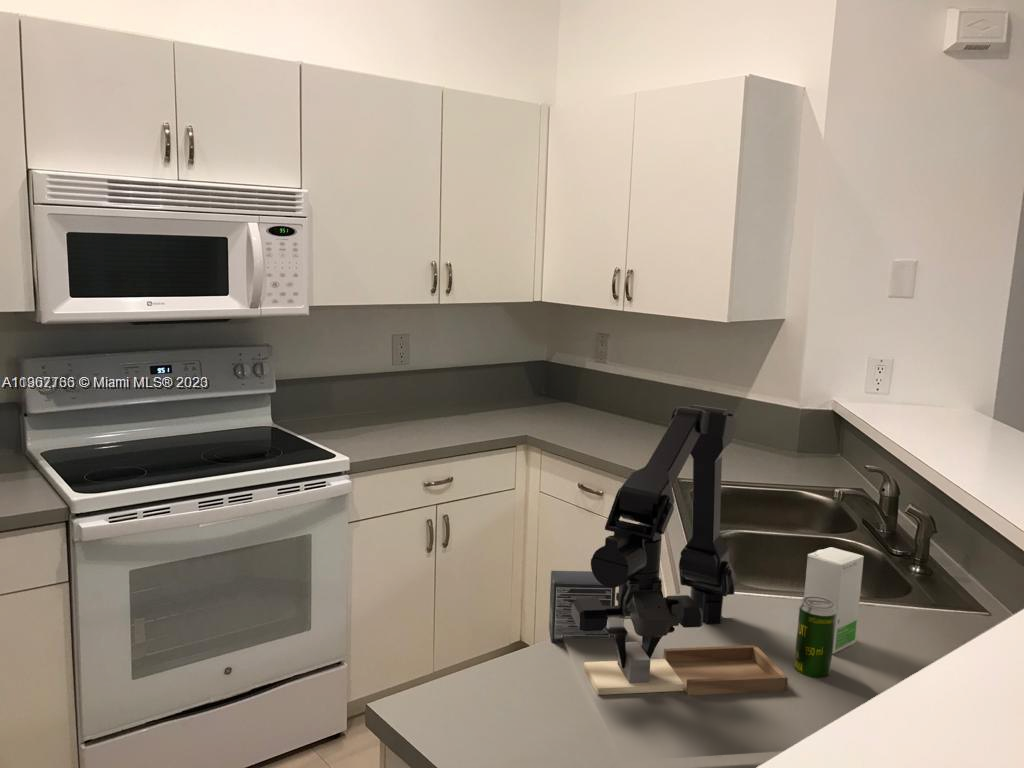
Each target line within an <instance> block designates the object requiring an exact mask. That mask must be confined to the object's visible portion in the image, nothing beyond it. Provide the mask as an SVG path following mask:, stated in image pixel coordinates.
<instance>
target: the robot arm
mask: <svg viewBox="0 0 1024 768" xmlns="http://www.w3.org/2000/svg"><path fill="white" fill-rule="evenodd" d="M670 419H671V421H670V423H669V425H668V427H667V428H666V430H665V432H664V434H663V435H662V437H661V439H660V441H659V442H658V444H657V445H656V448H655V449H654V451H653V452H652V454H651V456H650V458H649V459H648V461H647V463H646V465H644V466H643V467H641V468H639V469H637V470H634V471H633V472H632V473H630V474H629V476H628V477H627V478H626V480H625V481H624V483H622V484H621V486H620V487H619V489H618V490H617V493H616V495H615V497H614V500H613V503H612V506H611V509H610V512H609V515H608V518H607V520H606V523H605V526H604V530H605V531H608V532H612V533H613V535H612V534H611V535H608V536H606V537H605V540H604V545H602V546H600V547H599V548H598V549H596V550H595V551H594V553H593V555H592V558H591V559H590V569H591V571H592V573H593V575H594V576H595V578H596V579H597V580H598V581H599V582H600V583H601V584H602V585H604V586H606V587H610V588H615V587H616V588H618V592H615V601H617V605H615V606H603V605H602V603H601V602H600V600H599V599H598V598H576V599H575V601H574V602H573V603H572V607H571V616H572V618H573V619H574V621H575V623H576V625H577V626H578V628H579V630H582V631H602V630H603V629H604V630H605V631H606V633H607V634H610V635H611V637H612V642H613V646H614V648H615V652H616V655H617V661H618V660H619V663H620V666H621V667H622V668H625V662H626V643H625V642H626V638H627V635H628V633H629V632H628V630H627V629H626V627H625V626H624V624H625V623H624V622H625V620H630V621H631V623H632V625H633V628H634V629H633V630H634V632H635V634H636V635H637V636H639V637H642V638H641V647H642V649H643V650H644V651H645V653H646V654H647V656H648V657H649V658H650V659H651V658H652V656H653V654H654V651H655V649H656V647H657V646H658V644H659V642H660V641H661V639H662V638H663V637H665V636H667V635H668V634H671V633H674V632H675V627H679V625H681V626H682V627H683V628H684V629H685V628H689V629H690V628H701V627H703V624H705V625H721V623H722V619H724V616H722V614H723V603H724V597H725V598H726V597H727V596H730V595H731V596H732V595H734V594H735V590H736V586H737V582H736V581H737V575H736V573H735V570H734V568H733V565H732V563H731V562H730V549H729V547H728V546H727V544H726V542H725V541H724V539H723V537H722V536H721V508H722V507H721V505H722V503H721V501H722V500H721V499H722V473H723V472H722V465H723V462H722V461H723V455H724V454H725V453H726V451H727V450H728V449H729V447H730V446H731V445H732V443H733V437H734V436H735V432H736V428H737V421H736V420H737V419H736V418H735V416H734V413H731V411H730V409H726V408H721V407H713V406H707V405H700V404H699V405H697V404H693V405H691V406H690V407H688V406H687V407H686V406H680V407H675V408H674V410H673V412H672V414H671V418H670ZM689 457H692V500H691V501H692V503H691V505H692V506H691V507H692V510H691V511H692V512H691V516H692V517H691V537H690V539H689V541H688V542H687V543H686V544H685V546H684V547H683V549H682V550H681V551H680V558H679V562H678V563H679V564H678V571H679V581H680V586H685V587H686V586H687V587H689V588H690V594H689V595H690V596H689V595H688V594H683V595H681V594H679V595H667V596H665V597H664V594H663V590H662V589H663V588H662V586H663V585H662V582H663V581H662V580H663V579H661V578H660V570H661V569H660V566H661V565H660V564H661V552H662V541H663V540H662V537H663V536H662V535H664V534H665V532H666V530H667V527H668V525H669V522H670V520H671V517H672V515H673V512H674V510H675V506H674V504H675V495H674V491H673V487H674V485H675V483H676V481H677V479H678V476H680V473H681V471H682V470H683V467H684V465H686V462H687V460H688V459H689ZM621 518H622V519H624V520H627V521H624V520H620V519H621ZM629 521H632V522H629ZM633 522H637V523H633Z"/></svg>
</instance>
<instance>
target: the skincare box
mask: <svg viewBox="0 0 1024 768" xmlns="http://www.w3.org/2000/svg"><path fill="white" fill-rule="evenodd" d="M864 557H865V556H864V555H862V554H859V553H855V552H851V551H848V550H843V549H840V548H836V547H833V546H832V547H831V546H830V547H827V548H824V549H818V550H816V551H814V552H810V553H808V554H807V559H806V560H807V561H806V573H805V584H804V593H803V594H804V596H803V598H804V597H808V596H815V597H821V598H825V599H828V600H830V601H832V602H833V603H835V609H836V621H835V631H834V640H833V650H832V655H834V654H837V652H839V651H842V650H844V649H845V648H847V647H849V646H851V645H854V644H855V643H856V641H857V630H858V619H859V610H860V601H861V590H862V589H861V588H862V579H863V570H864V569H863V568H864Z"/></svg>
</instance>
